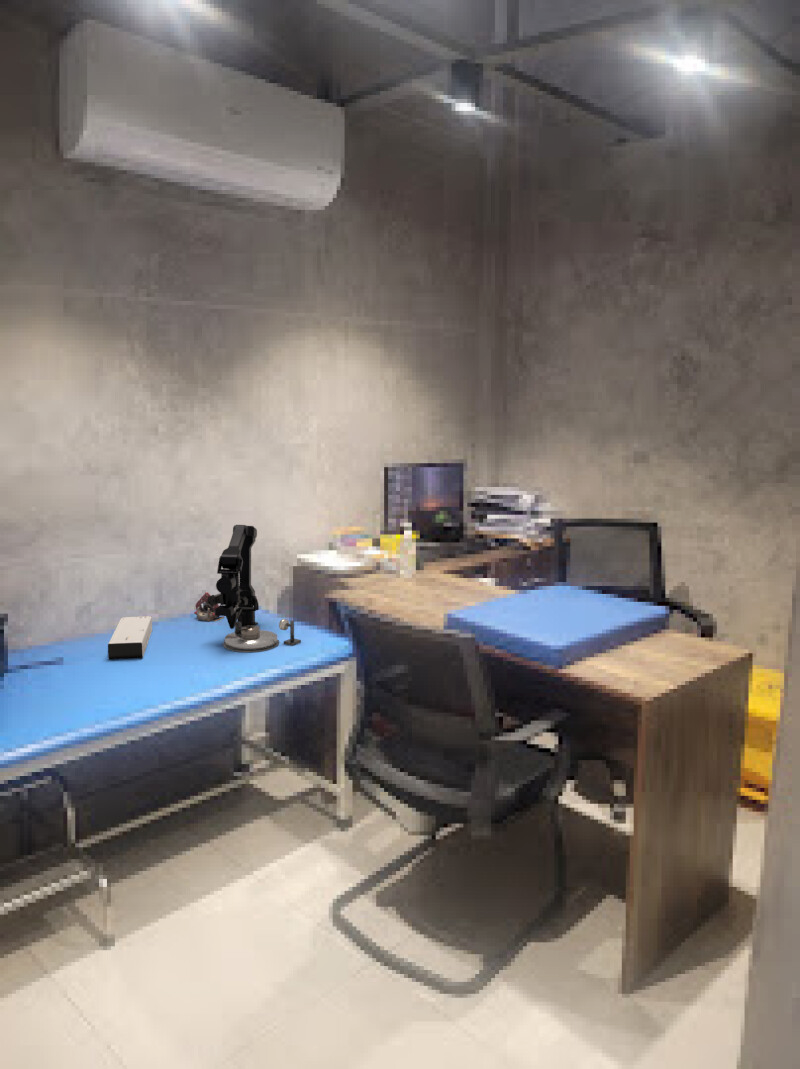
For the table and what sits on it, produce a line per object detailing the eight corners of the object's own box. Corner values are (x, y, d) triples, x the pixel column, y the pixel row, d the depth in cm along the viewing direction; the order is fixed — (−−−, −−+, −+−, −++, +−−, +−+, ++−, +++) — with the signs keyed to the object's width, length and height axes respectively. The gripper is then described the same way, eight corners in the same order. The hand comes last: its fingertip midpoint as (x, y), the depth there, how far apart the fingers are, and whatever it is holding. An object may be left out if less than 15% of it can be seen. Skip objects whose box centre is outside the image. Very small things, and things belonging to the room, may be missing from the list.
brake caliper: (186, 615, 327) (195, 588, 332) (198, 626, 336) (207, 599, 342) (210, 618, 324) (220, 591, 329) (222, 629, 333) (231, 602, 338)
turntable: (282, 635, 309) (282, 620, 308) (271, 651, 290) (271, 635, 289) (232, 634, 310) (232, 618, 309) (218, 649, 291) (218, 633, 290)
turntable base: (250, 632, 314) (250, 631, 314) (290, 642, 303) (290, 641, 303) (211, 645, 297) (211, 644, 297) (251, 656, 286) (251, 655, 286)
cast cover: (261, 634, 303) (261, 625, 302) (257, 640, 296) (257, 630, 296) (243, 634, 303) (243, 624, 303) (239, 639, 297) (239, 629, 296)
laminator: (142, 659, 282) (141, 642, 281) (105, 661, 279) (104, 644, 278) (152, 631, 315) (151, 616, 314) (118, 632, 312) (118, 617, 311)
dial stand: (290, 640, 306) (289, 616, 304) (300, 642, 303) (300, 619, 301) (279, 643, 301) (278, 620, 299) (290, 646, 298) (289, 622, 296)
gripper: (219, 580, 308) (220, 620, 310) (200, 591, 290) (201, 634, 292) (247, 581, 306) (248, 622, 309) (230, 593, 288) (230, 636, 291)
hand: (231, 628), depth 300 cm, fingers closed
